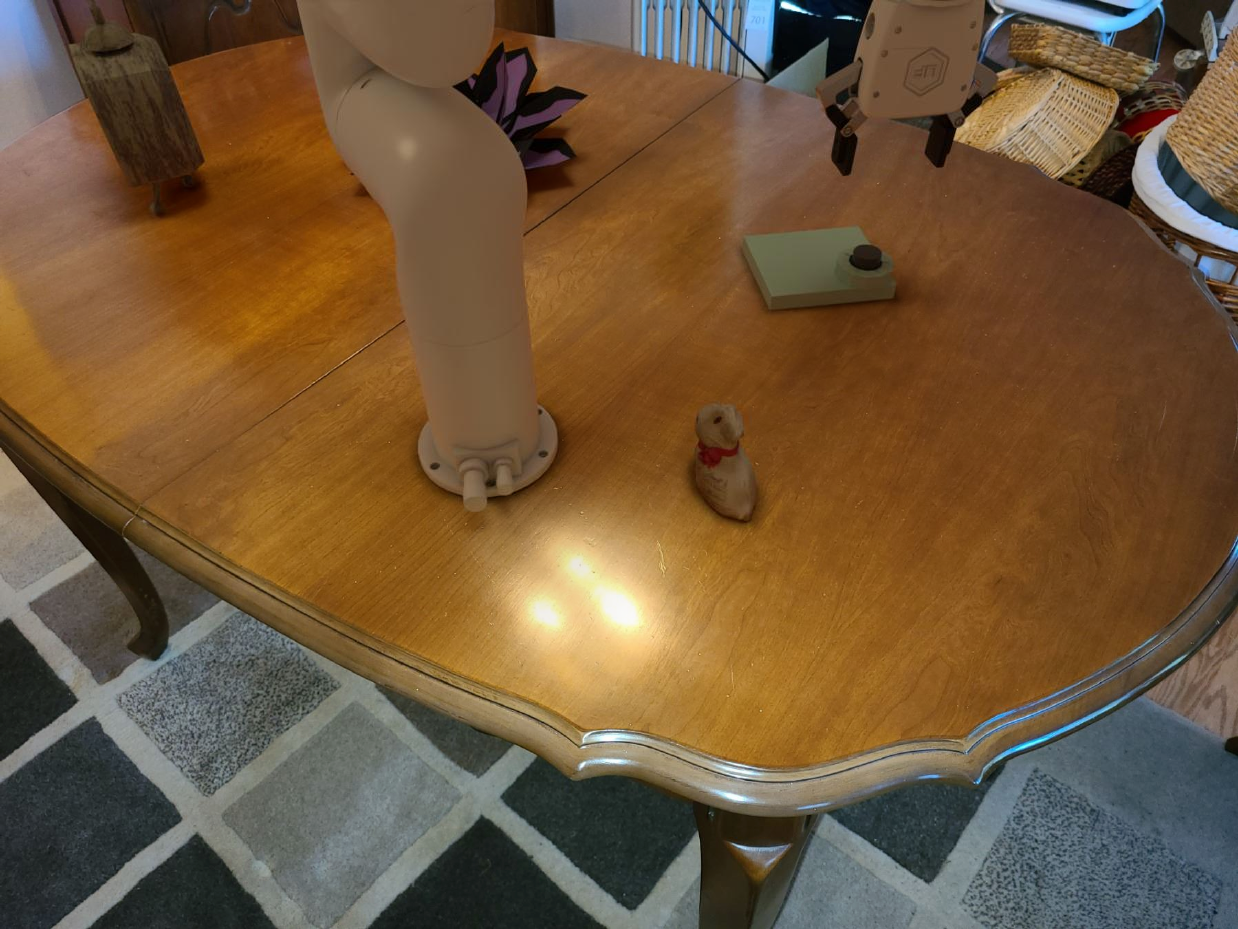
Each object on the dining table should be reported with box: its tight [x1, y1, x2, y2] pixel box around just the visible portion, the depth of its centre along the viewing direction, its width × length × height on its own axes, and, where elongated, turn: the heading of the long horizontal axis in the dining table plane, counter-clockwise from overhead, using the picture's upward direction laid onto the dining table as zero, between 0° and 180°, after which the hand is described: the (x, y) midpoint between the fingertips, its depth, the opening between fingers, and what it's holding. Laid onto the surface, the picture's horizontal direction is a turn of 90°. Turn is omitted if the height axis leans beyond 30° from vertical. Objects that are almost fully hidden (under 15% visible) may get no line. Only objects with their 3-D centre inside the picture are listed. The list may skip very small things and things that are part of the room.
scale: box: [741, 225, 898, 311], centre depth 94 cm, size 12×14×4 cm
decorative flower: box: [349, 40, 589, 176], centre depth 108 cm, size 32×32×15 cm
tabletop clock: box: [68, 0, 206, 216], centre depth 99 cm, size 14×9×25 cm, turn 30°
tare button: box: [851, 244, 883, 271], centre depth 91 cm, size 3×3×2 cm
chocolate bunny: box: [693, 402, 758, 522], centre depth 70 cm, size 6×8×10 cm
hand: (887, 165), depth 83 cm, fingers open, 9 cm apart
